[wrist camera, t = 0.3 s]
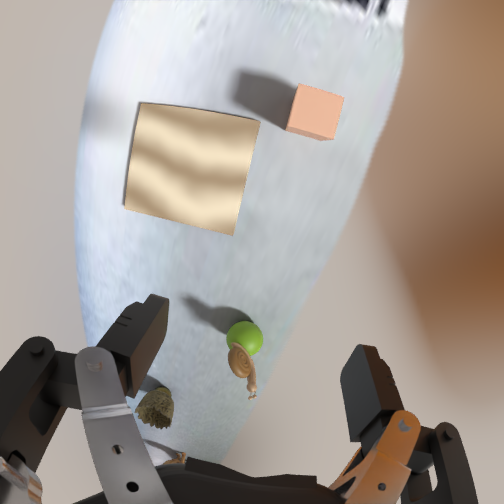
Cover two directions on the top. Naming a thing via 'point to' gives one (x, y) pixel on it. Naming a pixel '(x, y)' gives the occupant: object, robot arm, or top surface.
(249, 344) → the snail figurine
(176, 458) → the lion figurine
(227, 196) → the birch board
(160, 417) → the cup
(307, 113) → the terracotta block
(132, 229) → the top surface
